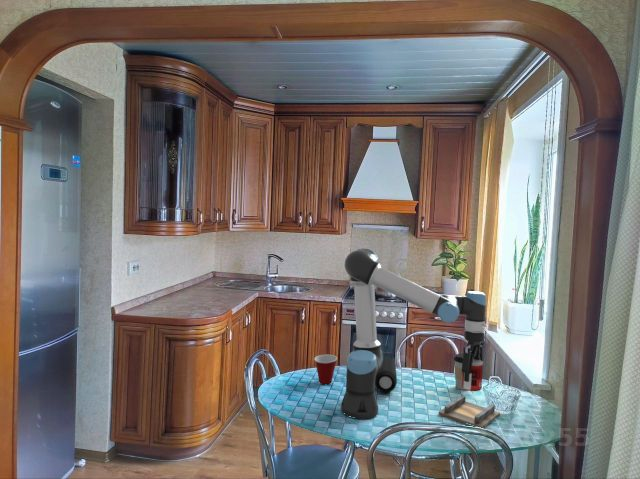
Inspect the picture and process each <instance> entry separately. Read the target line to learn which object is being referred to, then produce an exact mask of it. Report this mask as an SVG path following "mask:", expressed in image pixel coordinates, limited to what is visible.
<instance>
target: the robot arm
mask: <svg viewBox="0 0 640 479" xmlns="http://www.w3.org/2000/svg"><path fill="white" fill-rule="evenodd" d="M379 260H380V259H379V258H378V255H377V253H376V252H375V251H373V250H371V249H370V248H359V249H356V250H353V251H352V252H350V253H349V254H348V255H347V256H346V258H345V260H344V270H345V272H346V273H347V274H348V276H349V279H350V282H351V284H352V285H353V290H354V309H355V331H356V332H355V333H356V340H355V342H353V351H351V352H350V353H349V354H348V355H347V360H346V376H345V377H346V380H345V381H346V382H345V393H344V395H343V398H342V400H341V402H340V403H341V404H340V412H341V411H342V412H343V413H345V414H346V415H348V416H351V417H355V418H362V419H361V420H367V419H366V418H370V419H373V418H375V417H377V416H378V415H377V414H379V405H378V400H377V397H376V393H375V392H376V386H375V378H376V374H377V373H378V371H379V369H380V368H381V366H382V363H383V357H384V355H383V351H382V349H381V348H382V347H381V346H382V344H381V341H379V340H378V337H377V336H378V335H377V334H378V333H377V316H376V314H377V313H376V312H377V311H376V294H375V287H377V288H379V289H381V290H383V291H385V292H388V293H390V294H392V295H394V296H396V297H398V298H399V299H402V300H405V301H406V302H408V303H410V304H411V305H414V306H417V307H418V308H420V309H423V310H425V311H427V312H428V313H431V314H433V315H435V316H437V317H439V319H440V320H441V321H442V322H444V323H448V324H449V323H453V322H456V320H457V319H458V317H459V316H465V317H464V318H465V319H464V335H463V336H464V340H465V341H466V342H467V345H466V346H463V353H462V354H463V363H462V372H464V387H463V388H464V389H468V390H467V391H469V390H471V375H472V374H471V368H472V363H473V359H476V360H481V361H482V362H483V363H484V341H485V327H487V325H486V308H487V295H486V294H485V292H481V291H476V290H474V291H471V290H469V291H467V292H466V295H451V294H445V293H444V294H438V293H436V292H434V291H432V290H429V289H427V288H425V287H423V286H421V285H419V284H417V283H415V282H413V281H411V280H409V279H407V278H404V277H403V276H400V275H398V274H396V273H394V272H392V271H390V270H388V269H386V268H385V267H382V266H381V263H379ZM342 412H341V413H342ZM343 413H342V414H343ZM346 415H345V416H346ZM376 415H377V416H376ZM348 416H347V417H348ZM351 417H350V418H351ZM372 417H373V418H372ZM355 418H354V419H355Z"/></svg>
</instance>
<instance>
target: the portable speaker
mask: <svg viewBox="0 0 640 479" xmlns="http://www.w3.org/2000/svg"><path fill="white" fill-rule="evenodd" d="M396 366H397V365H396V363H395V361H394V359H393V358H391V357H390V356H383V363H382V366H381V368H380V369H379V371H378V373H377V374H376V378H375V388H376V389H377V390H378V391H380V392H382V393H391V392H392V391H394V390H395V388H396V387H397V384H398V383H397V382H398V377H397V367H396Z"/></svg>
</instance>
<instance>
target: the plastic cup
mask: <svg viewBox="0 0 640 479" xmlns="http://www.w3.org/2000/svg"><path fill="white" fill-rule="evenodd" d="M313 359H314V362H315V364H316V365H315V366H316V370H317V371H316V372H317V377H318V382H320V383H322V384H321V385H323V384H329V385H331V384H332V382H333V377H334V374H335V368H336V363H337V360H338V357H337V356H336V355H334V354H327V353H326V354H319V355H317V356H315V357H313ZM320 383H319V384H320ZM330 383H331V384H330Z"/></svg>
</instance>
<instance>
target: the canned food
mask: <svg viewBox="0 0 640 479" xmlns="http://www.w3.org/2000/svg"><path fill="white" fill-rule="evenodd" d="M483 372H484V361H483V362H482V361H481V360H476V359H473V363H472V368H471V374H472V375H471V390H468V389H466V390H465V391H470V392H480V391H481V390H482V386H483ZM462 387H464V372H463V373H462Z"/></svg>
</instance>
